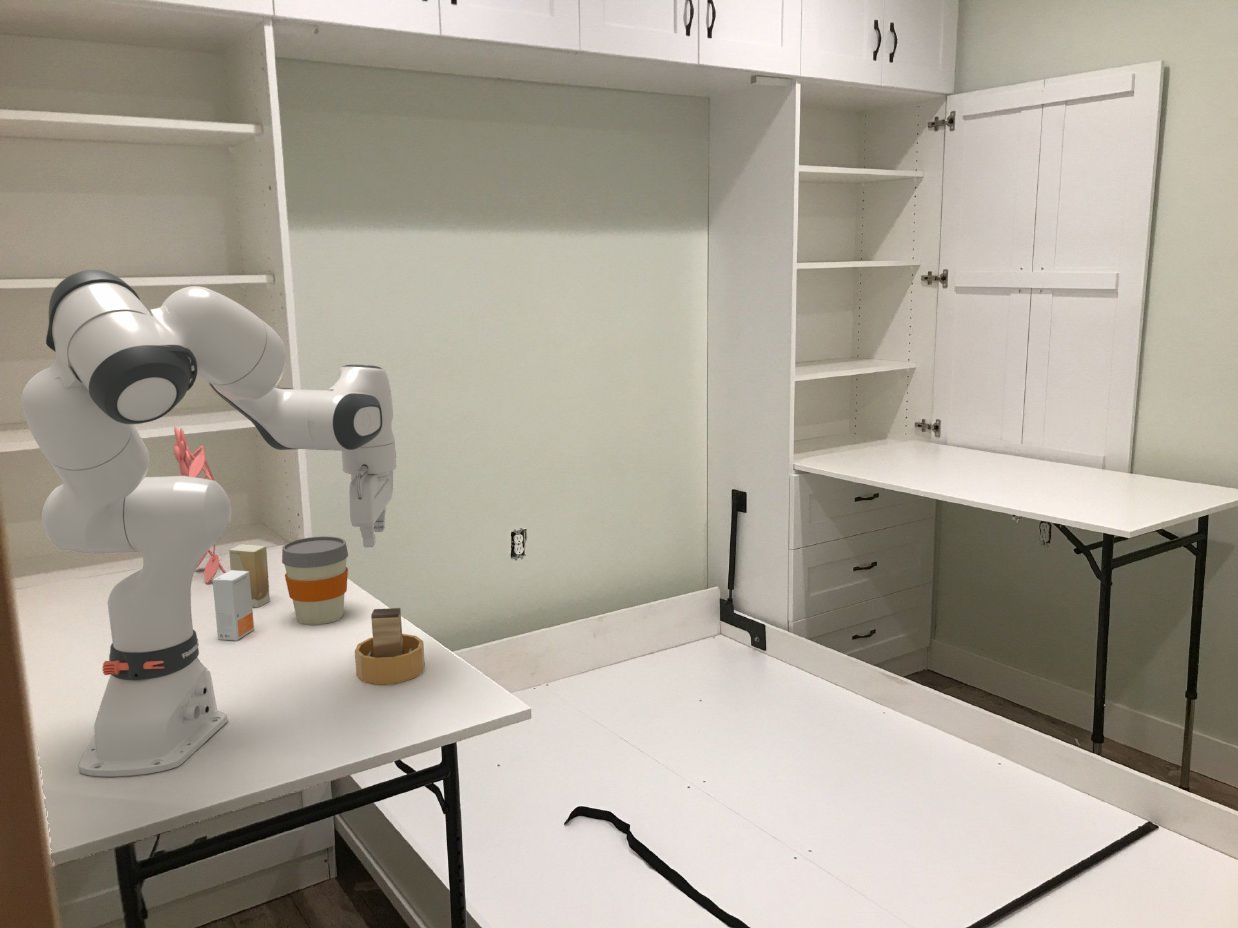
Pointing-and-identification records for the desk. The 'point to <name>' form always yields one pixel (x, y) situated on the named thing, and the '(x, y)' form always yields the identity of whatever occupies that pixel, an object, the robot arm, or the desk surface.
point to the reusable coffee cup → (316, 578)
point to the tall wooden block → (387, 632)
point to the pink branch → (197, 465)
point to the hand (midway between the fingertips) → (374, 538)
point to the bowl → (390, 662)
